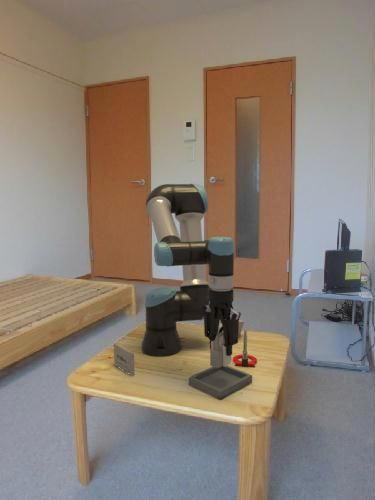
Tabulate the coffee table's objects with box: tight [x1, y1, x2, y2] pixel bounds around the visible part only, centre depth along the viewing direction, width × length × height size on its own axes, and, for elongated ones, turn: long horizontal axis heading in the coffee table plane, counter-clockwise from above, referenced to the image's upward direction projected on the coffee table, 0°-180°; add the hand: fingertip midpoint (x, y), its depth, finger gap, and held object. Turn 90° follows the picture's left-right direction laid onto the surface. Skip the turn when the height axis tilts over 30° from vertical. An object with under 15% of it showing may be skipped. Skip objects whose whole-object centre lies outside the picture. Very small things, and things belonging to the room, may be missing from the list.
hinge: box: [208, 319, 245, 346], centre depth 161 cm, size 17×5×10 cm, turn 142°
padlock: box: [209, 332, 225, 368], centre depth 122 cm, size 7×4×10 cm, turn 138°
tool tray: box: [188, 365, 253, 401], centre depth 123 cm, size 13×15×2 cm
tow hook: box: [232, 329, 258, 368], centre depth 140 cm, size 8×13×9 cm
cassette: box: [113, 342, 135, 376], centre depth 134 cm, size 12×2×8 cm, turn 39°
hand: (220, 362), depth 122 cm, fingers closed on padlock, 4 cm apart
